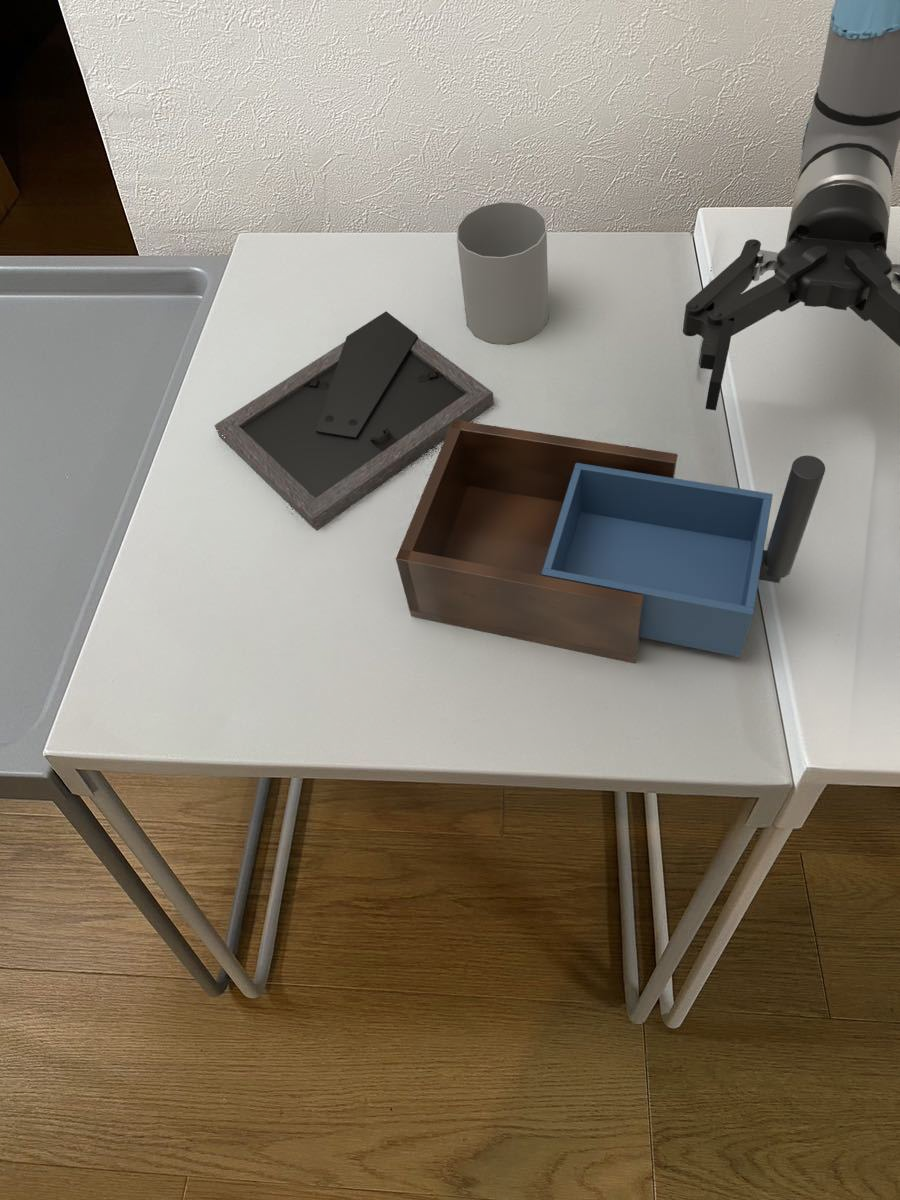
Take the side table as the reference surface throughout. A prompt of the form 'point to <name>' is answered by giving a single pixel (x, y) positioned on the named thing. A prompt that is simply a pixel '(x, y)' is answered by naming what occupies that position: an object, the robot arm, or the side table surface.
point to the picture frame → (353, 418)
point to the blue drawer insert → (681, 547)
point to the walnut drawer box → (514, 540)
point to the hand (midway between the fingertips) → (812, 409)
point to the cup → (504, 271)
